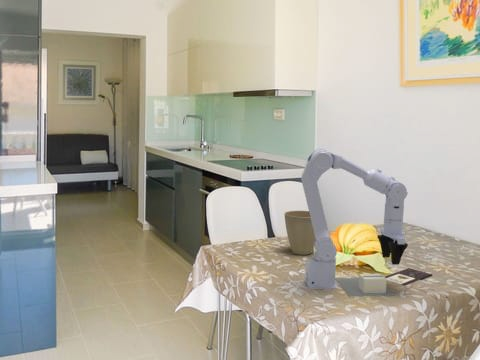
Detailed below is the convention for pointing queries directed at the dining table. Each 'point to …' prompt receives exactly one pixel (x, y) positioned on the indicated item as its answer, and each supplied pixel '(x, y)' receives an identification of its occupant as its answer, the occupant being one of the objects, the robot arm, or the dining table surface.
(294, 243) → the plant pot
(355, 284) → the mat
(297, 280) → the dining table surface
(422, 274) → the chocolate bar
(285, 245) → the dining table surface
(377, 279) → the card deck box
